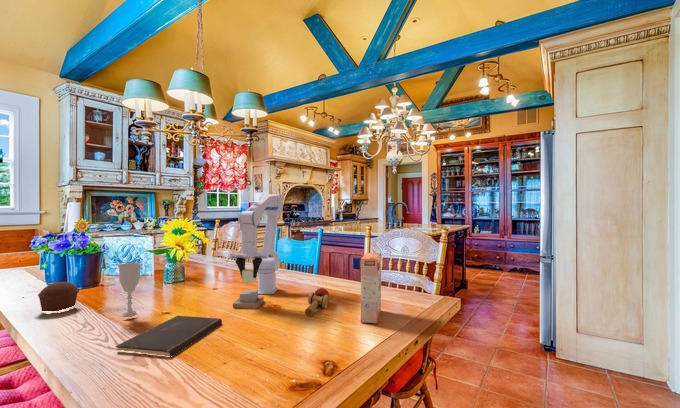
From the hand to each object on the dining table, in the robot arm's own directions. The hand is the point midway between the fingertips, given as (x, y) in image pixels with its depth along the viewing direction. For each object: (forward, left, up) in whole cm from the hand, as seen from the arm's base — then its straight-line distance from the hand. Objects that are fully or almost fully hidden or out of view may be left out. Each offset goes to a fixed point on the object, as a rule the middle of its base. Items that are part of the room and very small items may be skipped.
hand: (249, 277), depth 120 cm
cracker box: (+12, +46, -11) cm, 49 cm away
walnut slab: (0, 0, -11) cm, 11 cm away
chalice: (+15, -36, -11) cm, 40 cm away
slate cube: (0, 0, -8) cm, 8 cm away
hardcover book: (+30, -12, -11) cm, 34 cm away
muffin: (+8, -67, -11) cm, 68 cm away
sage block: (0, 0, -2) cm, 2 cm away
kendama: (+4, +27, -11) cm, 29 cm away
